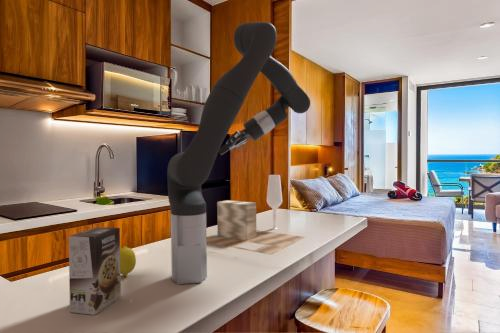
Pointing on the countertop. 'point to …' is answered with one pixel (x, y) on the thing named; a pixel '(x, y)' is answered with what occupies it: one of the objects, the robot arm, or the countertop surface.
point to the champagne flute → (274, 195)
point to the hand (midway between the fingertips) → (219, 152)
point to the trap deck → (258, 241)
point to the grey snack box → (94, 269)
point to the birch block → (236, 219)
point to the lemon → (127, 260)
